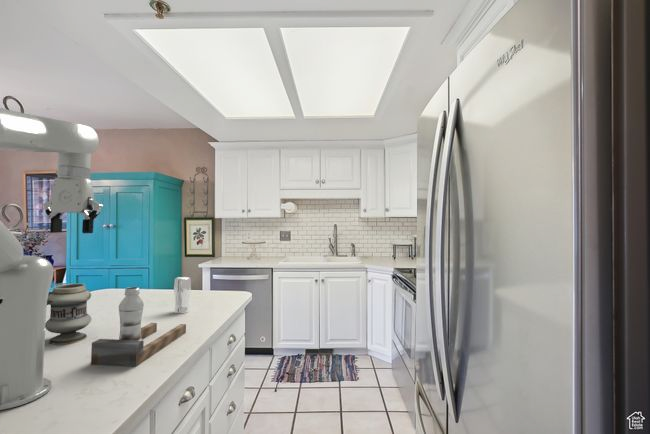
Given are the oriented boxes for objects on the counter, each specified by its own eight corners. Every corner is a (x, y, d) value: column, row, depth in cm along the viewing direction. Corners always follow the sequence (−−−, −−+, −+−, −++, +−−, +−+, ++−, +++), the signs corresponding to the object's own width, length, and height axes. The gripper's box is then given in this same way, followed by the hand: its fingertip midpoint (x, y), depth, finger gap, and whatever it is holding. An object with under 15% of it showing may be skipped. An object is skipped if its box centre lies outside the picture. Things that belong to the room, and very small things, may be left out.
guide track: (135, 366, 88) (136, 344, 88) (90, 364, 88) (91, 342, 89) (185, 332, 116) (186, 315, 116) (151, 331, 116) (151, 314, 117)
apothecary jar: (33, 344, 102) (36, 287, 102) (69, 332, 113) (71, 281, 114) (67, 347, 100) (69, 289, 100) (99, 334, 112) (101, 283, 112)
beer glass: (173, 310, 144) (174, 277, 145) (189, 309, 147) (190, 276, 148) (172, 314, 138) (174, 279, 138) (190, 313, 141) (191, 279, 141)
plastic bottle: (130, 361, 91) (133, 290, 92) (110, 358, 92) (113, 289, 93) (147, 352, 97) (150, 286, 98) (128, 350, 99) (131, 285, 99)
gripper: (34, 172, 90) (31, 232, 90) (92, 172, 89) (89, 233, 89) (57, 176, 98) (55, 231, 97) (111, 176, 97) (109, 233, 96)
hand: (71, 232), depth 93 cm, fingers open, 9 cm apart
